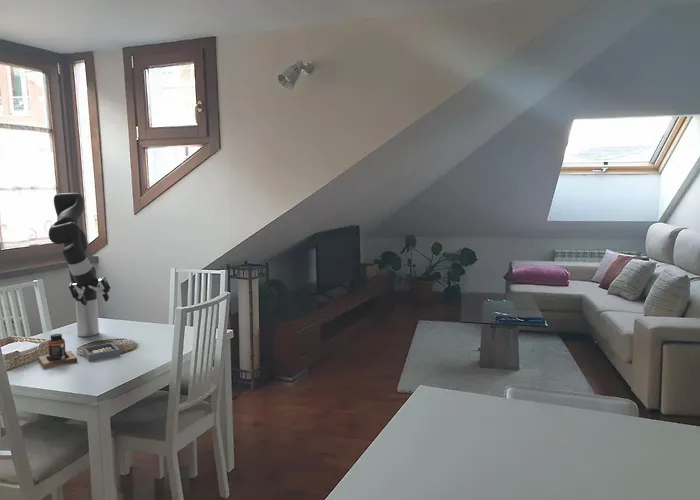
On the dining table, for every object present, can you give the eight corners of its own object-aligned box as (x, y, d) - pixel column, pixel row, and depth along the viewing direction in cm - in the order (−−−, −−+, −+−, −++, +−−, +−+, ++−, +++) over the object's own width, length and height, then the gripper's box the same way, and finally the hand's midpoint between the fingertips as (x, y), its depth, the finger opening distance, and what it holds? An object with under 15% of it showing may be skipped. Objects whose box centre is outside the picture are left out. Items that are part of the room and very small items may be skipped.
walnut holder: (38, 360, 216) (38, 356, 215) (71, 354, 223) (70, 350, 223) (43, 368, 206) (43, 364, 206) (77, 362, 214) (77, 358, 213)
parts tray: (82, 354, 224) (82, 347, 224) (112, 348, 231) (112, 342, 231) (89, 361, 215) (88, 354, 214) (120, 355, 222) (119, 349, 222)
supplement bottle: (68, 361, 215) (66, 334, 213) (52, 365, 210) (50, 337, 209) (63, 358, 219) (61, 331, 217) (47, 361, 214) (45, 334, 213)
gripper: (102, 261, 210) (116, 293, 218) (65, 267, 209) (81, 300, 217) (97, 271, 204) (111, 304, 212) (59, 277, 202) (75, 311, 211)
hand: (96, 302), depth 214 cm, fingers open, 8 cm apart
